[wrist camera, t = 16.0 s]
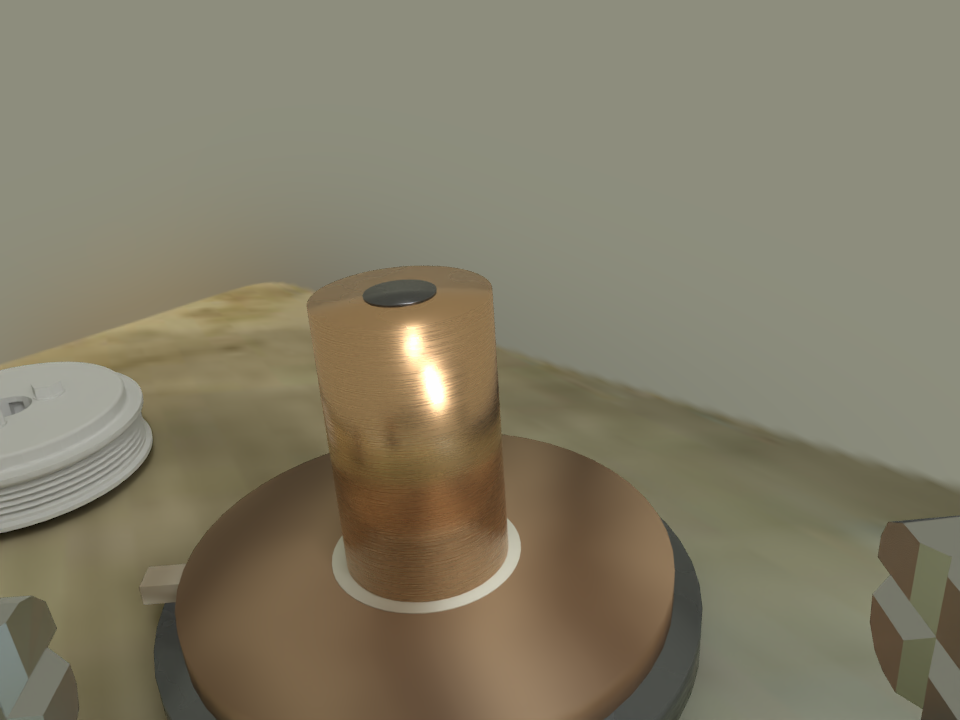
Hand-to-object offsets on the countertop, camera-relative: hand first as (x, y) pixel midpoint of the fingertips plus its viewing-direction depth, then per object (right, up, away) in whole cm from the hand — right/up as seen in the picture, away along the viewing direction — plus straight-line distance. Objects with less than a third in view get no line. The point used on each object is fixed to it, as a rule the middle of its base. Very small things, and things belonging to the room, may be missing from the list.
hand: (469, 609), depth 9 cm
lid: (-23, -4, +37) cm, 44 cm away
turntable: (-3, -6, +24) cm, 25 cm away
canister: (-2, -5, +24) cm, 24 cm away
